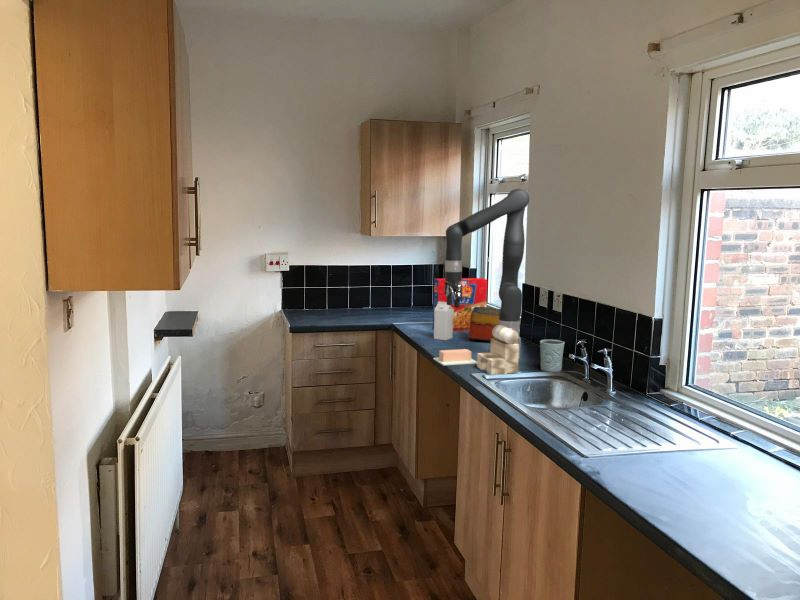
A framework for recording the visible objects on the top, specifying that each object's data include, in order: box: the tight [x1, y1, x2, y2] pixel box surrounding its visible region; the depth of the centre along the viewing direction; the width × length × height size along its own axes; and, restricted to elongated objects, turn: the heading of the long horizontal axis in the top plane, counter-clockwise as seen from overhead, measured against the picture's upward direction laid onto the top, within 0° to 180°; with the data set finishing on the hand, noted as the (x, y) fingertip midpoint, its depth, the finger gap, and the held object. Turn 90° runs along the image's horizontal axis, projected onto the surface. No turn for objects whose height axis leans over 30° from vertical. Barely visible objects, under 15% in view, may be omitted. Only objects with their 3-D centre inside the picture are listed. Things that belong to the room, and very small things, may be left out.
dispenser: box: [476, 325, 519, 376], centre depth 280 cm, size 12×14×18 cm
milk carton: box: [433, 301, 454, 341], centre depth 344 cm, size 7×7×19 cm
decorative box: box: [468, 306, 501, 343], centre depth 343 cm, size 20×22×16 cm
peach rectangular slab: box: [438, 348, 472, 362], centre depth 295 cm, size 13×5×4 cm, turn 107°
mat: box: [433, 357, 477, 366], centre depth 296 cm, size 16×12×1 cm
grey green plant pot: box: [539, 339, 565, 373], centre depth 284 cm, size 10×10×12 cm
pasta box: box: [432, 277, 488, 332], centre depth 369 cm, size 28×8×28 cm, turn 105°
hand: (453, 306), depth 302 cm, fingers open, 8 cm apart
